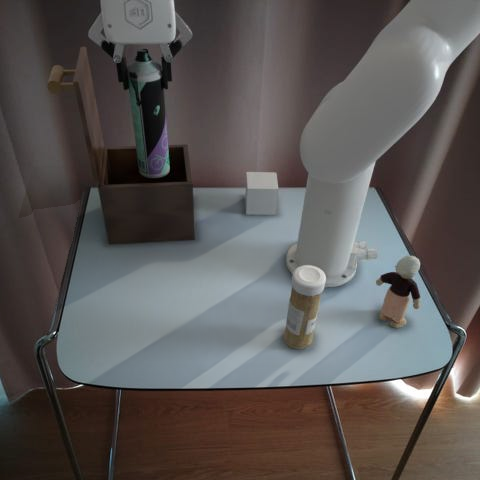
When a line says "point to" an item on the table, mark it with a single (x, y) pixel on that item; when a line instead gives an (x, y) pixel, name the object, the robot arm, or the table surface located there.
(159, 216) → the chest
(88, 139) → the lid
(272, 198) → the white cube
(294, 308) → the sprinkles bottle
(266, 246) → the table surface
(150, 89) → the spray can
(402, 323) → the grandmother figurine
